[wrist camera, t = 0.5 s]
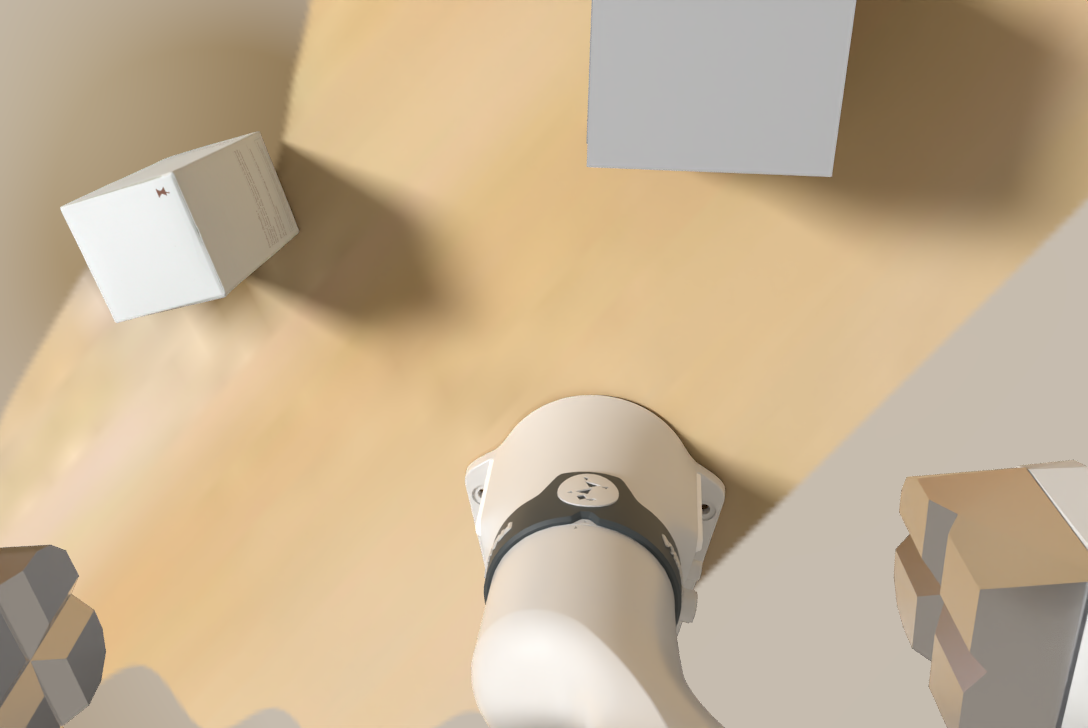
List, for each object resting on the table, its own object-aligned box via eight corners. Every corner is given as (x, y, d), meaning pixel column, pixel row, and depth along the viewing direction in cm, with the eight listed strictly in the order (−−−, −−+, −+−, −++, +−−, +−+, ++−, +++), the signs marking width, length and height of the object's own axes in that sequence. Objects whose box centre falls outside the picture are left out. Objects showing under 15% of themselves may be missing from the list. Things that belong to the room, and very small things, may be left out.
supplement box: (162, 157, 63) (53, 202, 52) (262, 128, 62) (174, 169, 50) (205, 261, 66) (111, 326, 55) (303, 235, 65) (228, 297, 53)
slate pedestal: (790, 125, 59) (841, 188, 43) (594, 118, 60) (575, 177, 44) (816, -92, 54) (884, -109, 38) (603, -95, 55) (584, -114, 39)
